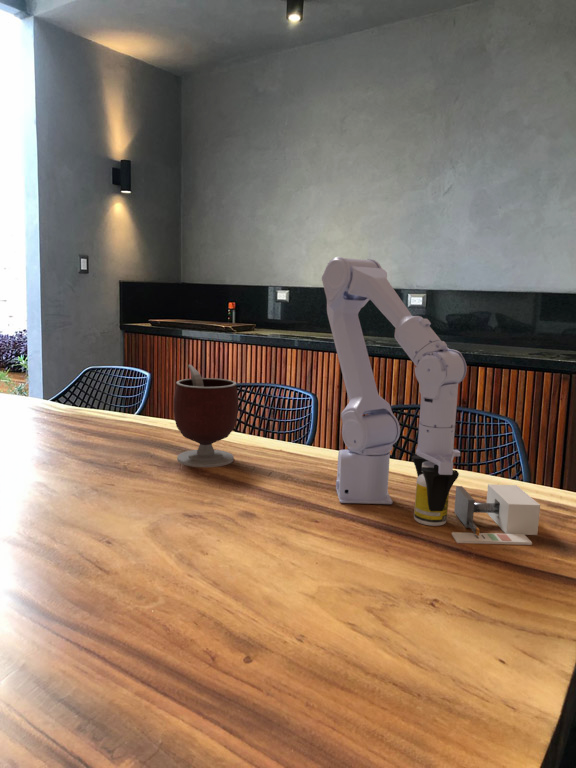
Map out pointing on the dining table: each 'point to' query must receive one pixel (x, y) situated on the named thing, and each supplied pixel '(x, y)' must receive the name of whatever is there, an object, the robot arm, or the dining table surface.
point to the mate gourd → (205, 417)
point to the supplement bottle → (421, 503)
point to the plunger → (471, 508)
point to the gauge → (507, 517)
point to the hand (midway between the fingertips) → (431, 504)
